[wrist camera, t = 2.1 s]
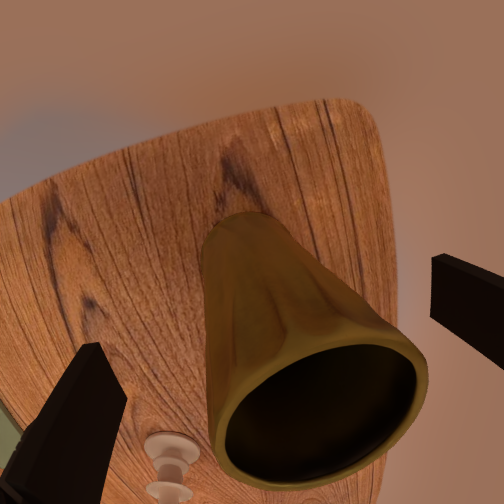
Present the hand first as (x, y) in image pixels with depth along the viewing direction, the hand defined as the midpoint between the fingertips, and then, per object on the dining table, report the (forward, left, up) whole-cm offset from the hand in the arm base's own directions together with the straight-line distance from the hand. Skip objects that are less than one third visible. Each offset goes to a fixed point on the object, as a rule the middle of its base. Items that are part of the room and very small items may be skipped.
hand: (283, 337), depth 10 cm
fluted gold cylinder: (0, 0, -10) cm, 10 cm away
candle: (+18, +7, -10) cm, 21 cm away
